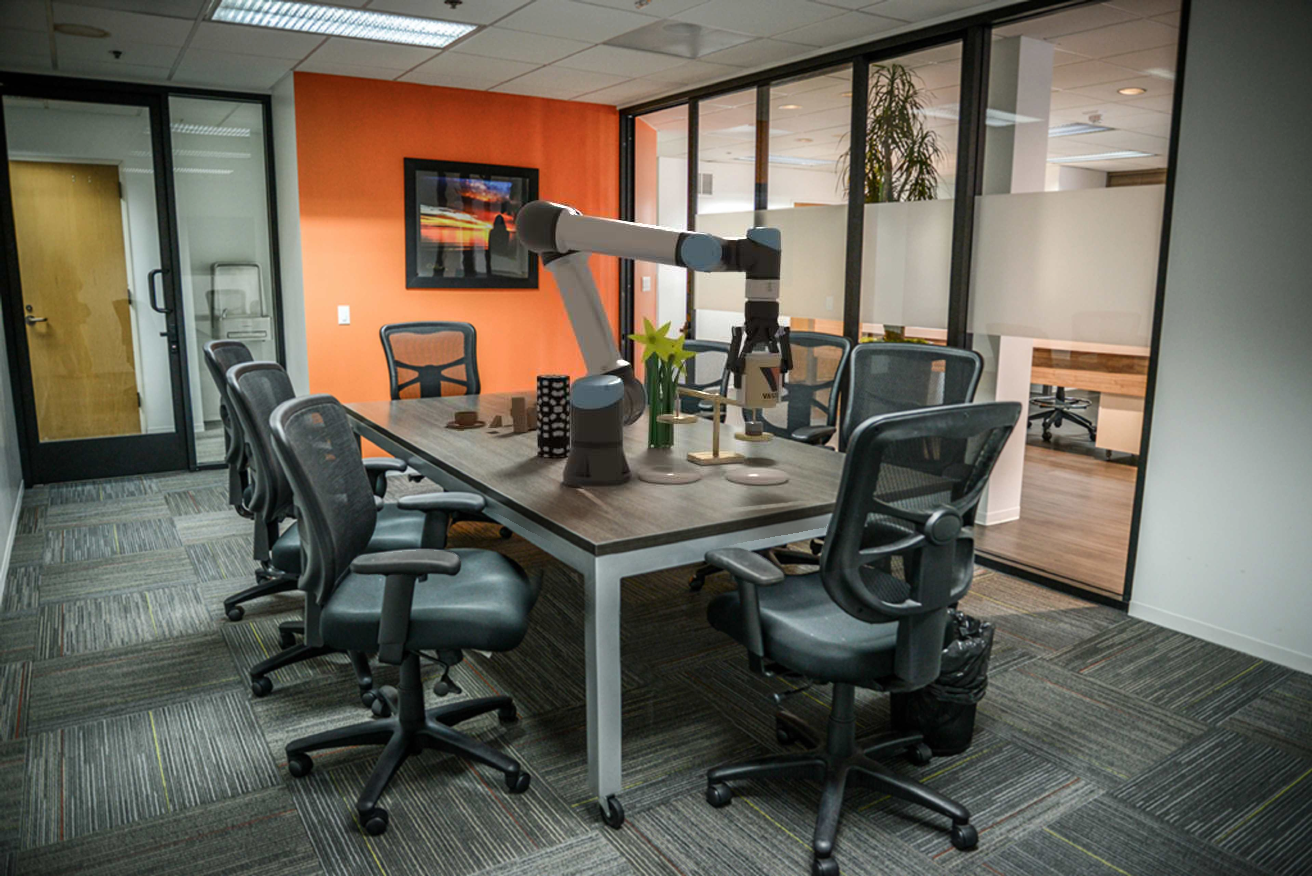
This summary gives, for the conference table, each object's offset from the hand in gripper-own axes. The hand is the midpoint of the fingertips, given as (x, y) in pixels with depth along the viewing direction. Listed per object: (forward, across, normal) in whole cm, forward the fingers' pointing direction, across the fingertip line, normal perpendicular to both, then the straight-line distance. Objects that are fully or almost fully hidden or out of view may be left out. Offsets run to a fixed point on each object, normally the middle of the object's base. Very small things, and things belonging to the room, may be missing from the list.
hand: (758, 402), depth 199 cm
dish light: (+17, -18, +8) cm, 26 cm away
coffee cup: (+1, 0, 0) cm, 1 cm away
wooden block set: (+18, -31, +84) cm, 91 cm away
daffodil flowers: (+17, -4, +43) cm, 47 cm away
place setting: (+18, -41, +96) cm, 106 cm away
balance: (+17, +1, +22) cm, 28 cm away
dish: (+17, 0, 0) cm, 17 cm away
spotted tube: (+18, -34, +44) cm, 58 cm away
